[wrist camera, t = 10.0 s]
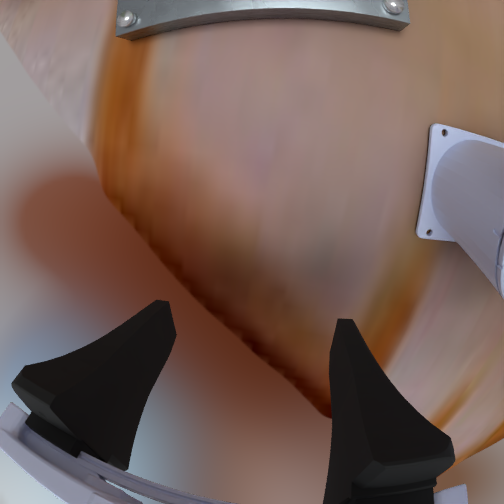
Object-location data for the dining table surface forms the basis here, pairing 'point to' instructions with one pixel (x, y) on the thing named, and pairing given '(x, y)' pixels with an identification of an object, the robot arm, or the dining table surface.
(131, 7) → the grey metal base plate
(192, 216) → the dining table surface
